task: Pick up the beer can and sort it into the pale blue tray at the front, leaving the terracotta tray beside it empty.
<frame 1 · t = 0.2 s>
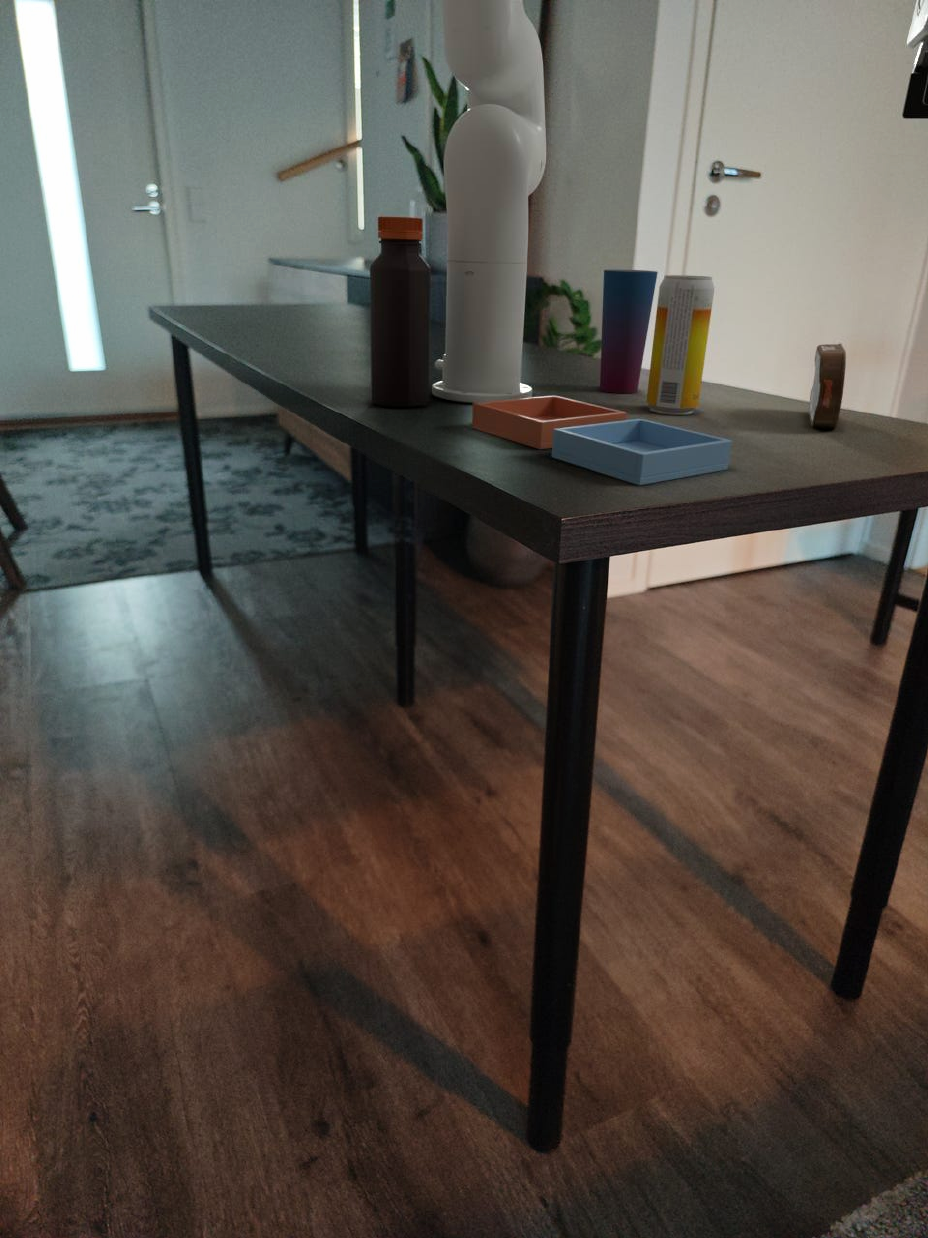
terracotta tray: (546, 432, 88), on the table
beer can: (670, 412, 102), on the table
cup: (618, 391, 115), on the table
blue tray: (638, 463, 77), on the table
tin: (818, 423, 99), on the table
bottle: (400, 405, 101), on the table
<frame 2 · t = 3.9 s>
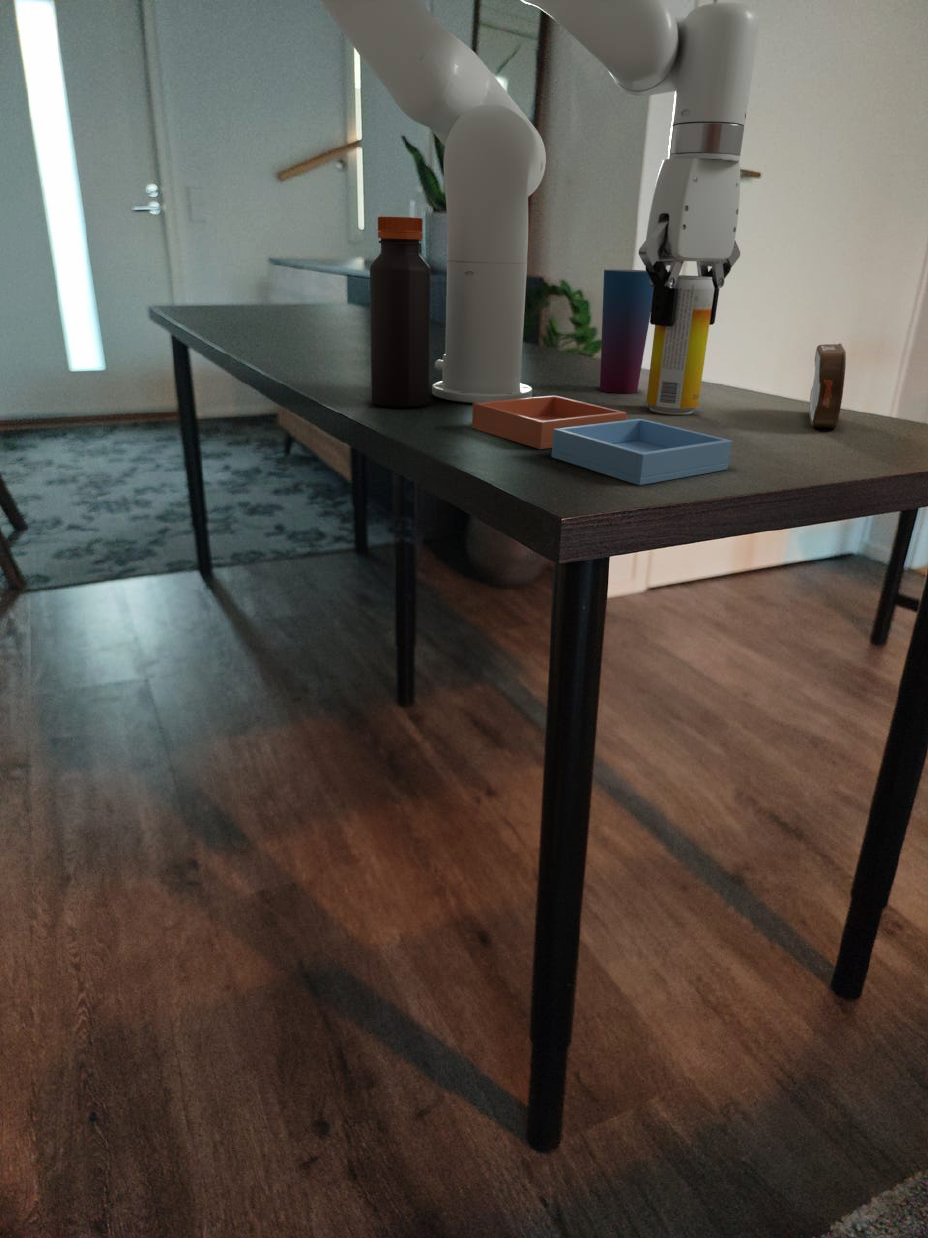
hand: (682, 322, 98), 10 cm above the table, tool pointing down, fingers closed on beer can, 6 cm apart
beer can: (670, 412, 102), on the table, touching gripper
everything else where it was.
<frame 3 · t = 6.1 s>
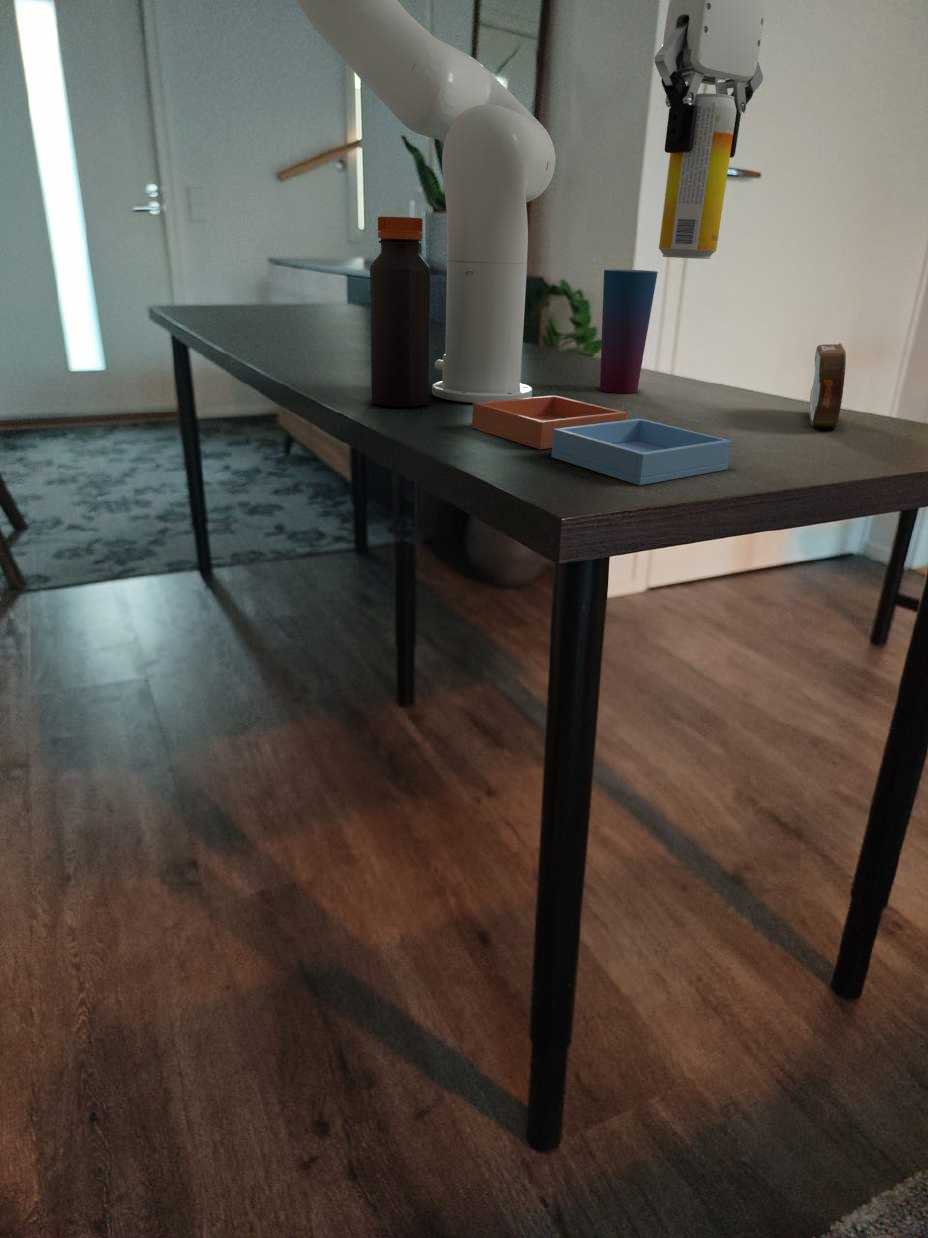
hand: (699, 153, 89), 27 cm above the table, tool pointing down, fingers closed on beer can, 6 cm apart
beer can: (685, 259, 93), point 17 cm above the table, touching gripper
everything else where it was.
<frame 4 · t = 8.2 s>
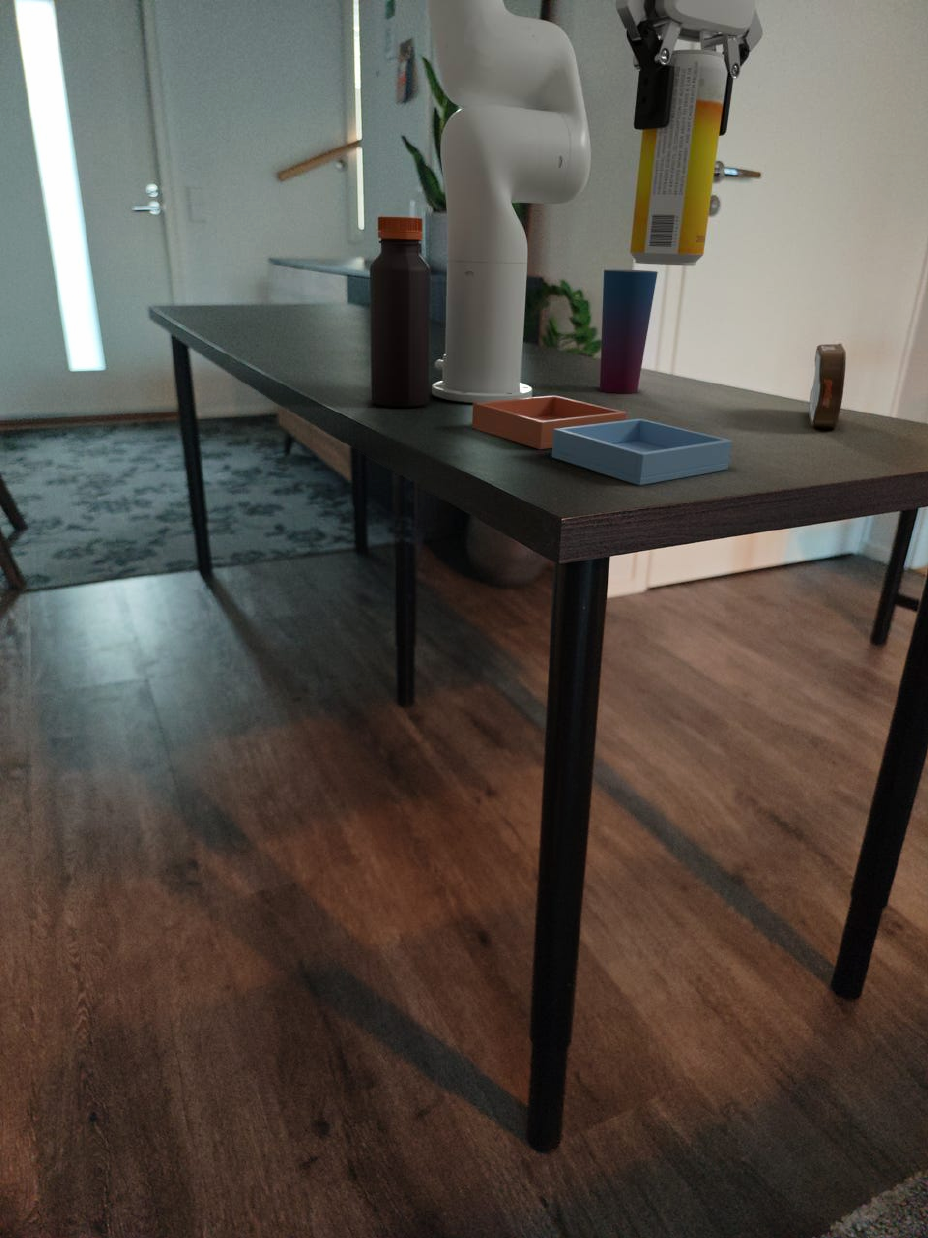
hand: (680, 129, 69), 27 cm above the table, tool pointing down, fingers closed on beer can, 6 cm apart
beer can: (664, 266, 73), point 16 cm above the table, touching gripper
everything else where it was.
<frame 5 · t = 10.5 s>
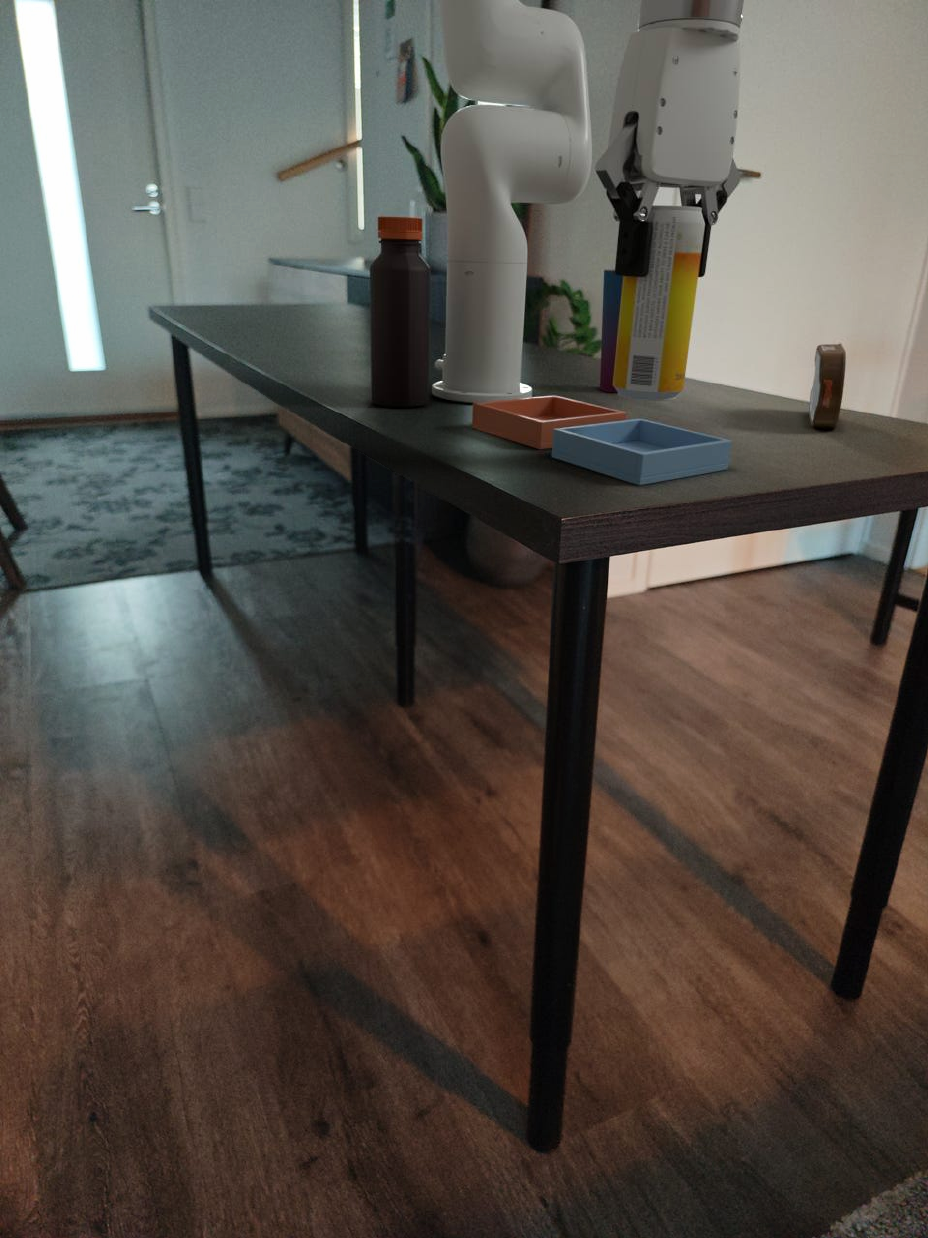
hand: (660, 273, 71), 16 cm above the table, tool pointing down, fingers closed on beer can, 6 cm apart
beer can: (646, 398, 75), point 6 cm above the table, touching gripper
everything else where it was.
when the fingers open (11 cm above the table, at t = 12.3 s): beer can stays where it is, resting on blue tray.
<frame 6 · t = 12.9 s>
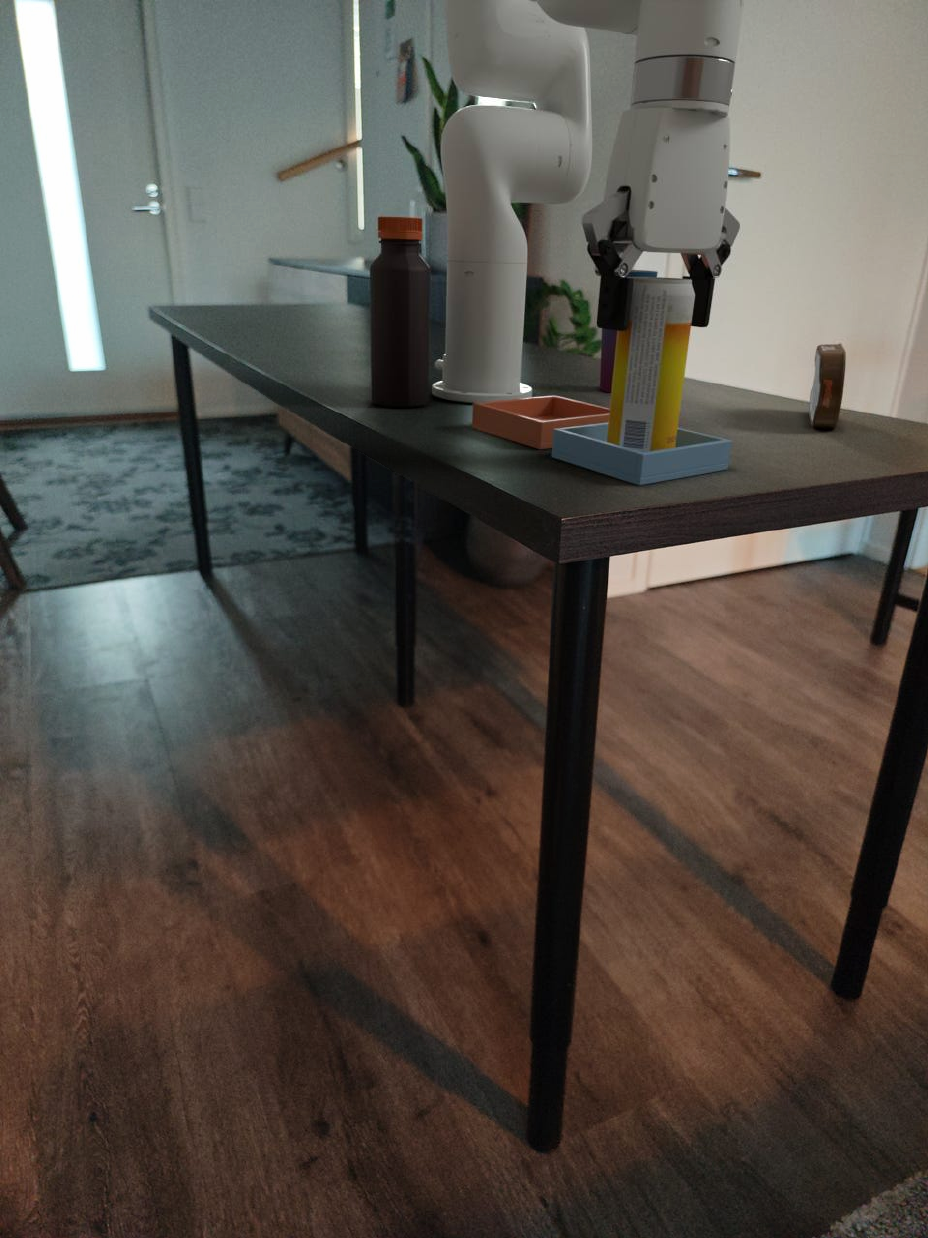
hand: (653, 327, 73), 12 cm above the table, tool pointing down, fingers open, 9 cm apart
beer can: (638, 458, 77), resting on blue tray
everything else where it was.
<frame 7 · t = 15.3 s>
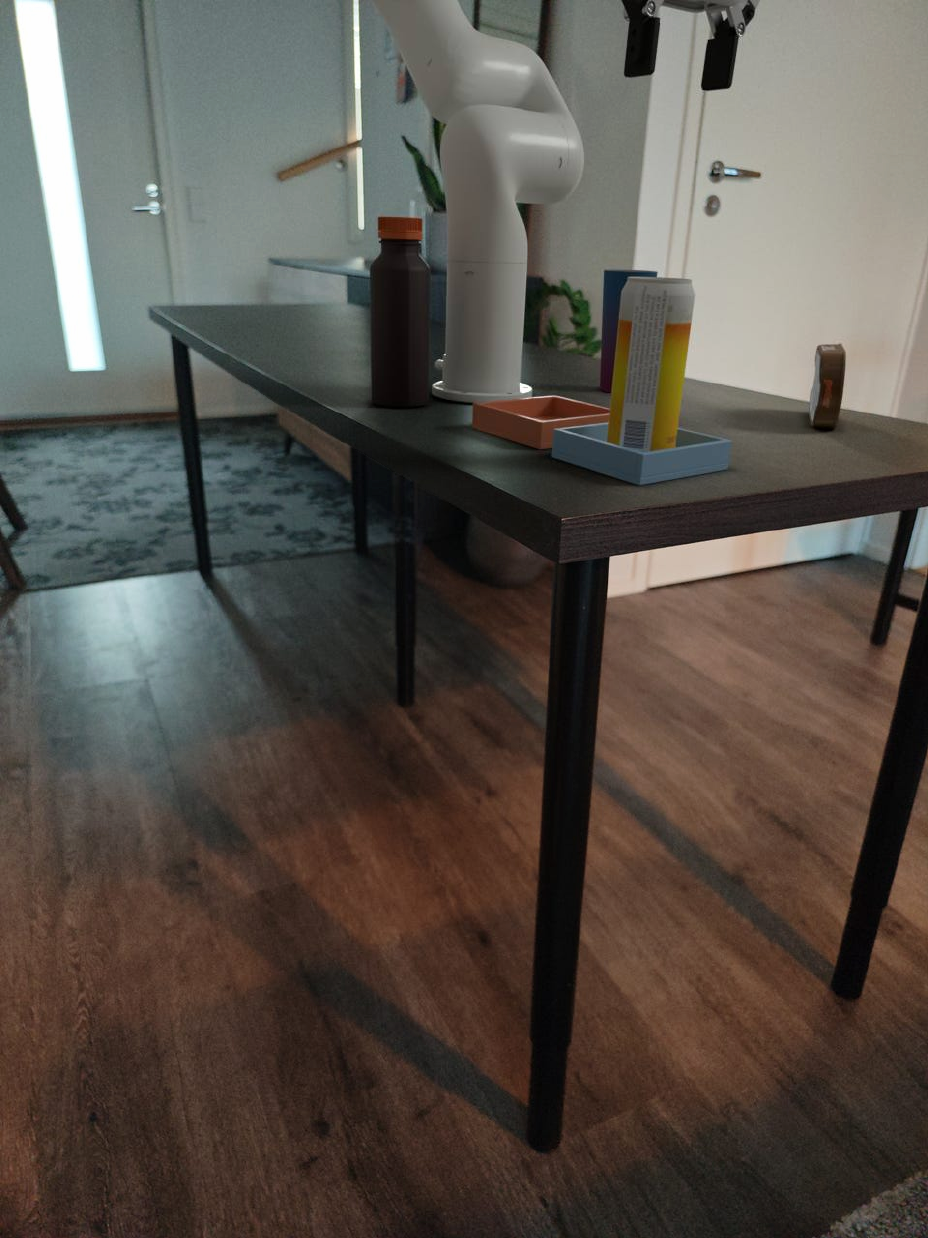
hand: (678, 82, 76), 31 cm above the table, tool pointing down, fingers open, 9 cm apart
nothing on the table moved.
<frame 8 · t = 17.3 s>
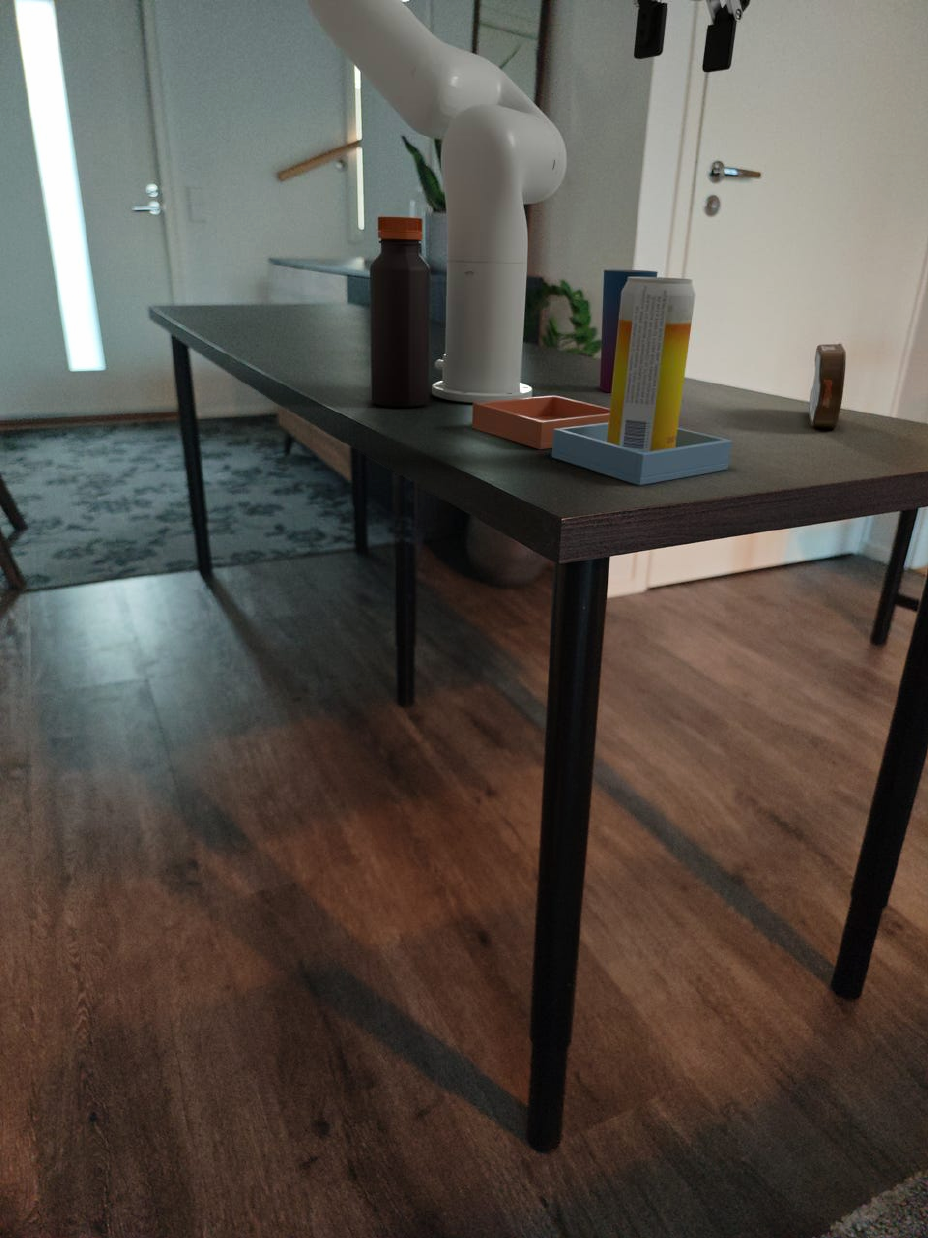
hand: (682, 63, 83), 34 cm above the table, tool pointing down, fingers open, 9 cm apart
nothing on the table moved.
at the end: beer can inside the target area in the blue tray (0.0 cm from its centre), point 0.4 cm above the blue tray's base; beer can tilted 0°; the gripper is holding nothing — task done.
